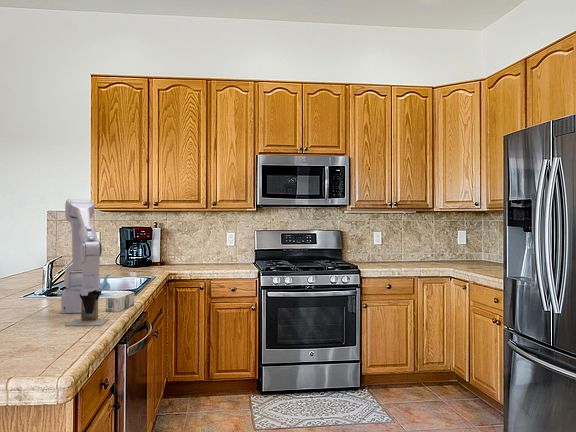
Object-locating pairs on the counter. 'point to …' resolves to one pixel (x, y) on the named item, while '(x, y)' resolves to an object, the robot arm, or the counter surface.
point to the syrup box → (119, 301)
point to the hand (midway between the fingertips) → (90, 312)
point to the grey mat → (87, 322)
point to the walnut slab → (89, 316)
